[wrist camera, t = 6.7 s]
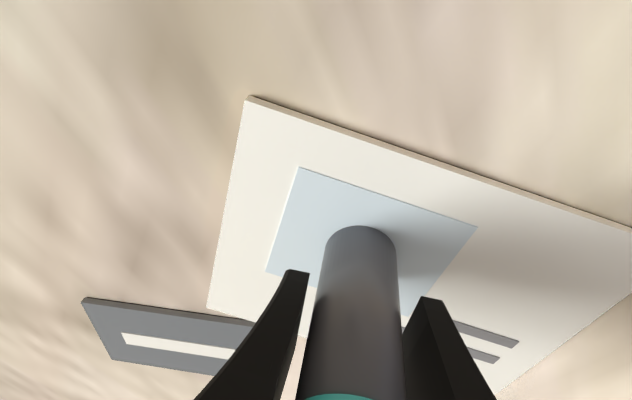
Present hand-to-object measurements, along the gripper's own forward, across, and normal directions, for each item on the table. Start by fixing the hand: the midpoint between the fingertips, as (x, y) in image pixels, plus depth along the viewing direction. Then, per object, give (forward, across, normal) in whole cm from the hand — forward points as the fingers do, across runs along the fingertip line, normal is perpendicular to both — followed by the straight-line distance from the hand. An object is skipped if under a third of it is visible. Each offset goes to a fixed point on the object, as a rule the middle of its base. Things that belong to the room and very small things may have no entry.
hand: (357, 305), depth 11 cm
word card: (+3, +7, +9) cm, 12 cm away
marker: (+2, 0, 0) cm, 2 cm away
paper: (+3, -2, +1) cm, 4 cm away
